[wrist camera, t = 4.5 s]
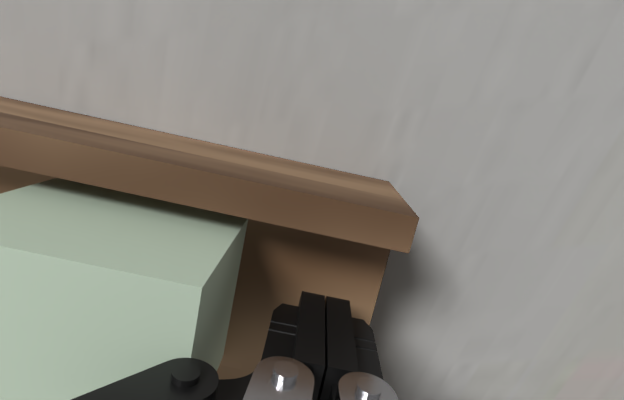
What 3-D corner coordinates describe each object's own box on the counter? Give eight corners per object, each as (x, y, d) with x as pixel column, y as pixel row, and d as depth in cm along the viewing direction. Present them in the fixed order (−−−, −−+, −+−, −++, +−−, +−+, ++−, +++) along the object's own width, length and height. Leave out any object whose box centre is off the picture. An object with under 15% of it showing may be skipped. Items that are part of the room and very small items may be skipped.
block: (58, 177, 13) (-108, 223, 8) (248, 217, 13) (202, 287, 8) (48, 319, 14) (-101, 437, 9) (223, 355, 14) (169, 490, 9)
